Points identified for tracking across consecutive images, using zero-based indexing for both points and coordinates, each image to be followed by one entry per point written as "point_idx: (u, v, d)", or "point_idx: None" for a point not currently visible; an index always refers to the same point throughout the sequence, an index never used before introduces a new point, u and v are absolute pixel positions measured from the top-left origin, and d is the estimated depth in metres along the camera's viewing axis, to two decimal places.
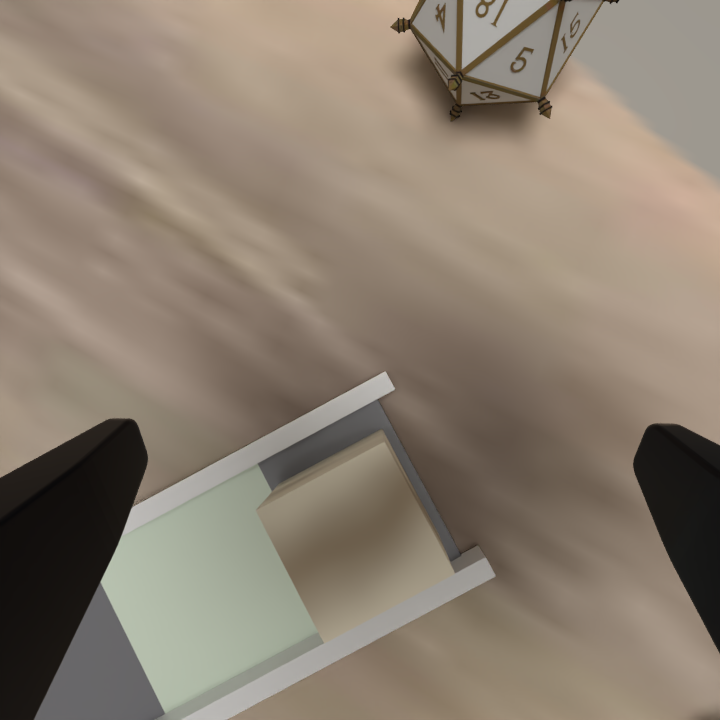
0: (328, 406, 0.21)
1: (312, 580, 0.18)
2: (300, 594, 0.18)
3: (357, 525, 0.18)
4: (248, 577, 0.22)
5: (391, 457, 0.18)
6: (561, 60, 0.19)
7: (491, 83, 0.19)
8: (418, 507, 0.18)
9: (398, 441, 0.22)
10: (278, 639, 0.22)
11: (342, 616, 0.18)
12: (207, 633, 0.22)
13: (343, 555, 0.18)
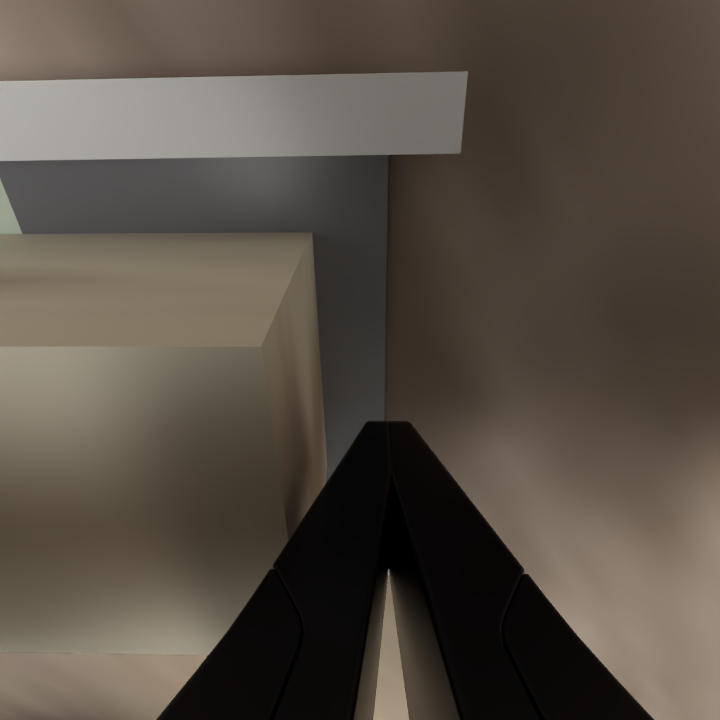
0: (229, 93, 0.06)
1: None
2: None
3: (86, 514, 0.06)
4: None
5: (264, 403, 0.05)
6: None
7: None
8: (285, 539, 0.06)
9: (382, 283, 0.09)
10: None
11: (10, 633, 0.07)
12: None
13: (29, 551, 0.06)
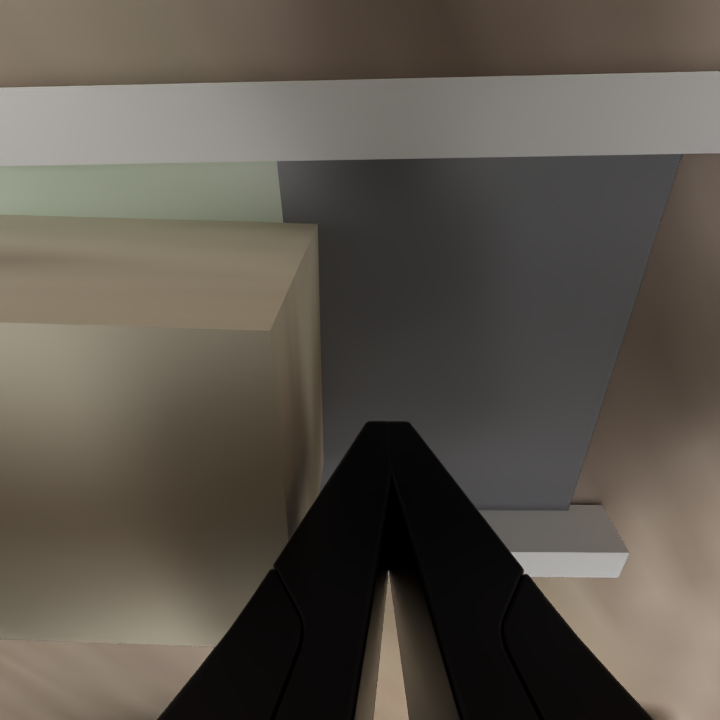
0: (599, 91, 0.06)
1: None
2: None
3: (83, 497, 0.06)
4: None
5: (270, 389, 0.05)
6: None
7: None
8: (284, 529, 0.06)
9: (636, 283, 0.09)
10: None
11: None
12: None
13: (23, 535, 0.06)
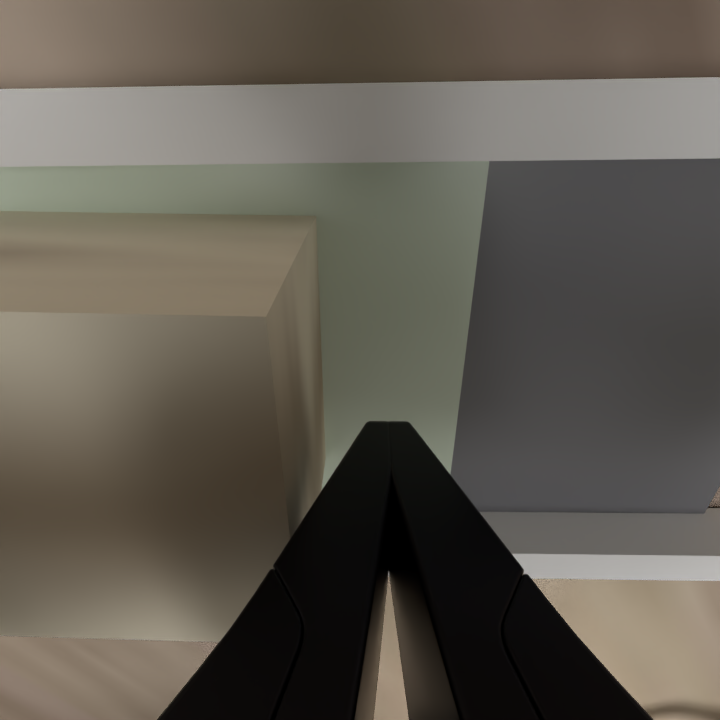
0: None
1: None
2: None
3: (82, 491, 0.06)
4: (326, 390, 0.10)
5: (267, 377, 0.05)
6: None
7: None
8: (285, 521, 0.06)
9: None
10: None
11: (0, 616, 0.07)
12: None
13: (22, 529, 0.06)
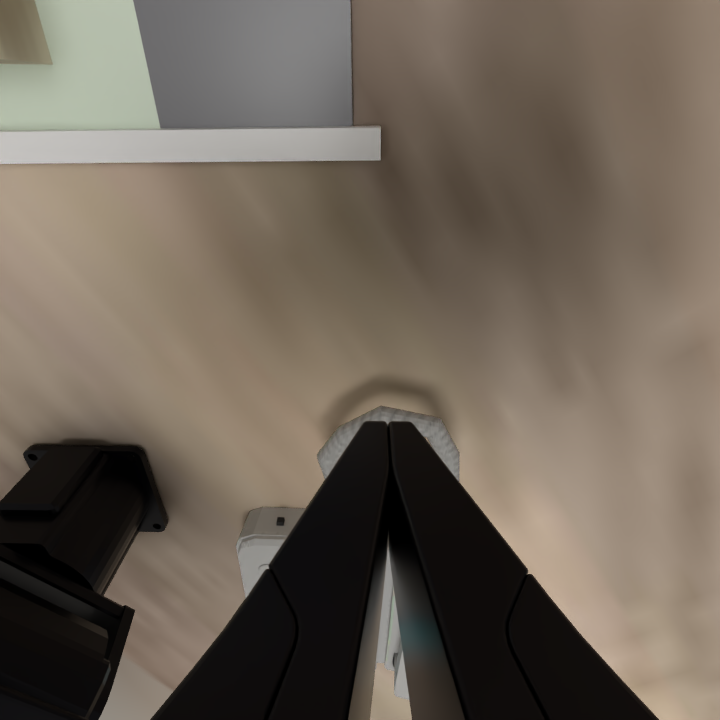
0: None
1: None
2: None
3: None
4: None
5: None
6: None
7: None
8: None
9: None
10: (70, 112, 0.16)
11: None
12: None
13: None
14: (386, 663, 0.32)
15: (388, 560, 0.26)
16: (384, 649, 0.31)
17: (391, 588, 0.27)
